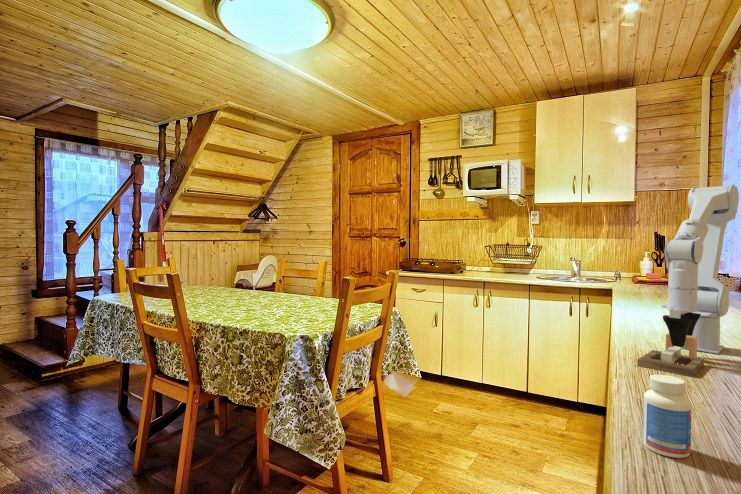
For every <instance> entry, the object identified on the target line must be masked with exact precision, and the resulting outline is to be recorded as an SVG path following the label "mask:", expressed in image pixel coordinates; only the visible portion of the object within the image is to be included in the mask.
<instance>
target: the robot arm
mask: <svg viewBox="0 0 741 494" xmlns="http://www.w3.org/2000/svg"><path fill="white" fill-rule="evenodd" d="M688 191H689V192H688V194H687V204H688V207H689V209H690V214H689V218H687V219H685V220H683V221H682V222H681V223H680V225H679V228H678V229H677V232H676V234H675V236H674V238H673V239H670V241H666V243H665V247H664V258H665V263H666V265H665V267H666V269H667V270H668V277H667V278H668V281H667V283H668V284H667V285H668V286H667V287H668V288H667V304H666V303H663V304H661V308H662V309H663V308H664V309H667V310H668V315H667V314H664V315H662V319H663V321H664V323H665V325H666V327H667V329H668V333H669V334H670V339H671V343H672V346H674V347H676V348H681V349H686V350H689V348H684V347H683V346H684V344H685V340H686V335H689V336H696V337H697V352H699V351H700V352H704V353H711V354H716V355H717V354H720V352H722V351H723V350H724V349H725V346H724V345H721V343H720V342H721V341H720V340H721V318H723V317H724V316H726V315H727V314H728V311H729V307H730V298H729V296H730V292H729V289H728V287H727V286H726V285H725V284H724V283H722V282H721V281H719V280H718V276H719V269H720V263H721V256H722V250H723V244H724V238H725V233H726V232H725V231H726V228H727V225H728V223H729V222H731V221H732V220H734V219H736V216H737V214H738V207H739V201H740V200H739V197H740V196H739V189H738V187H737V186H736V185H735V184H730V185H720V186H719V185H718V186H707V187H706V186H705V187H692V188H690V190H688Z"/></svg>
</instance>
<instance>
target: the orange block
mask: <svg viewBox="0 0 741 494" xmlns="http://www.w3.org/2000/svg"><path fill="white" fill-rule="evenodd" d="M669 347H675V346H672V343H671V339H670V334H669V332H668V333H666V335H665V350H666V349H668V348H669ZM683 347H684V348H683V349H685V348H689V349H688V356H690V357H695V358H698V350H697V337H696V336H689V335H686V340H685V344H684V346H683Z"/></svg>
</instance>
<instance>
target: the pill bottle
mask: <svg viewBox="0 0 741 494" xmlns="http://www.w3.org/2000/svg"><path fill="white" fill-rule="evenodd" d="M649 387H650V388H651V389H648V390H647V391H645V392H644V394H643V410H642V411H643V413H642V414H643V418H642V420H643V421H642V422H643V423H642V424H643V425H642V429H643V430H642V442H643V445H644V446H645V448H647V449H648V450H650V451H651V452H654V453H655V454H659V455H661V456H665V457H669V458H674V459H675V458H676V459H684V458H687V457H689V456H690V455H691V451H692V403H691V402H692V401H691V400H690V399H689V398H688V397H687V396H686V395H684V394H685V392H686V381H685V380H684V379H682V378H679V377H677V376H672V375H667V374H666V375H665V374H652V375H650V376H649Z"/></svg>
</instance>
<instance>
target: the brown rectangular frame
mask: <svg viewBox="0 0 741 494" xmlns="http://www.w3.org/2000/svg"><path fill="white" fill-rule="evenodd" d="M681 350H682V348H680V347H677V346H674V347H669V348H668V349H666V348H665V350H663V351H660V350H655V349H652V350H651V351H649V352H648V353H646V354H644V355H642V356H641V357H639V358H638V359H637V367H640V368H641V367H642V368H646V369H651V370H656V371H662V372H667V373H670V374H676V375H681V376H686V377H690V378H692V377H694V376H695V375H696V374H697V373H699V371H700V370H701V369H702V368H703V367H704V366H705V359H704V358H700V357H697V358H695V357H690V356H689V355H684V354H683V355H682V354H681V353H682V351H681ZM673 362H674V363H673ZM677 363H678V364H677ZM682 364H683V365H682Z"/></svg>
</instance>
